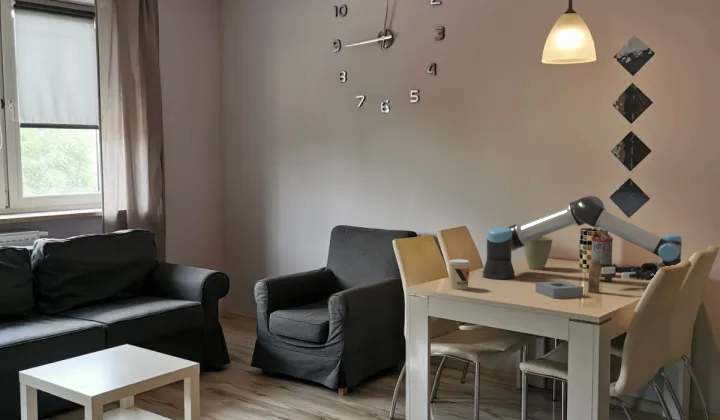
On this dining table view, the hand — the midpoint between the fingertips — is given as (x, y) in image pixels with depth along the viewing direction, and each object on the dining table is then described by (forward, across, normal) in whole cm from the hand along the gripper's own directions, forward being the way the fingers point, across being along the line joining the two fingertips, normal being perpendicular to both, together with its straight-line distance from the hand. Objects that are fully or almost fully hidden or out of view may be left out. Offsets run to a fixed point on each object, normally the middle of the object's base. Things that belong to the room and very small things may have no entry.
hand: (611, 273), depth 301 cm
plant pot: (0, +61, -8) cm, 62 cm away
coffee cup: (+61, +24, -8) cm, 66 cm away
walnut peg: (+9, 0, -8) cm, 12 cm away
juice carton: (-20, +35, -8) cm, 41 cm away
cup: (-13, +20, -8) cm, 26 cm away
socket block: (+26, 0, -8) cm, 27 cm away
